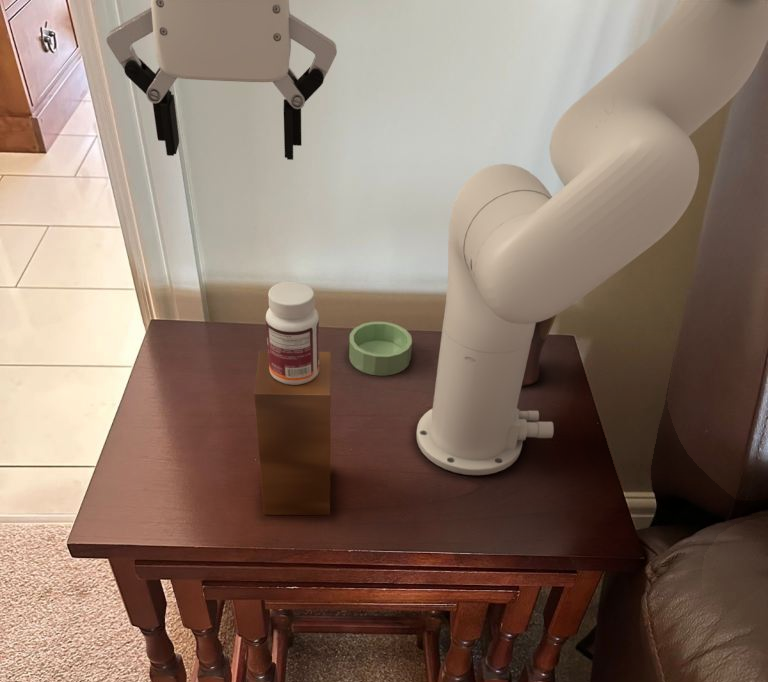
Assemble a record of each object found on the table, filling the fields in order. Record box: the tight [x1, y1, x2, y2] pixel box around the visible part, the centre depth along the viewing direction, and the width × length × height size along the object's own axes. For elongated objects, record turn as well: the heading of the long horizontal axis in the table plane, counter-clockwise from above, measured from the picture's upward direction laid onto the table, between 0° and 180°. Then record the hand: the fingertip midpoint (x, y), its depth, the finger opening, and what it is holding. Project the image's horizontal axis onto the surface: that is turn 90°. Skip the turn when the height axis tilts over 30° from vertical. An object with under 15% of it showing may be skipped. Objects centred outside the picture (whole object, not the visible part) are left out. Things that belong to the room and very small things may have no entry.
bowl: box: [348, 321, 413, 377], centre depth 103 cm, size 8×8×3 cm
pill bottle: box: [265, 280, 320, 385], centre depth 71 cm, size 5×5×8 cm
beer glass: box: [521, 315, 557, 387], centre depth 98 cm, size 7×7×15 cm
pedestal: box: [253, 350, 332, 516], centre depth 80 cm, size 7×7×16 cm
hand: (231, 151), depth 65 cm, fingers open, 9 cm apart
